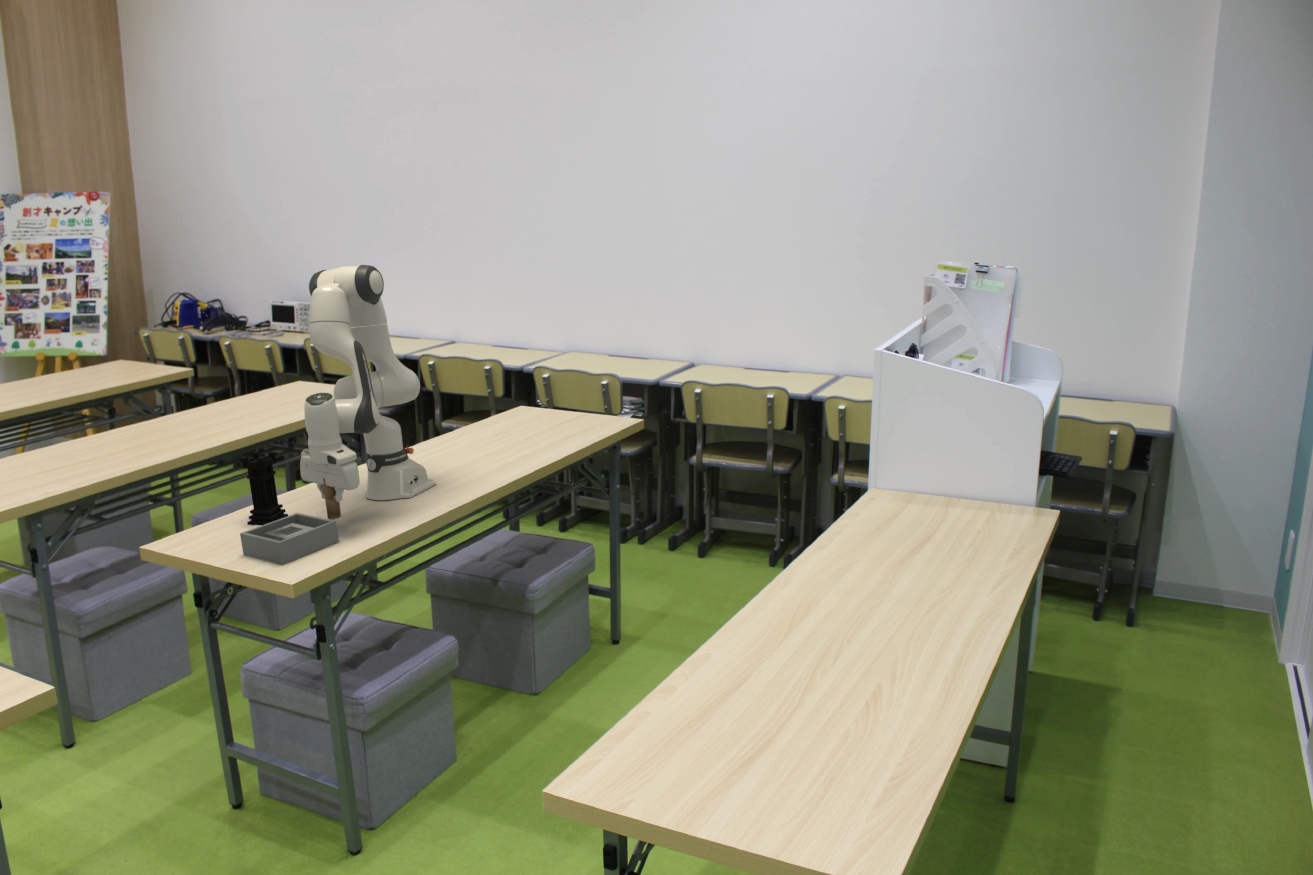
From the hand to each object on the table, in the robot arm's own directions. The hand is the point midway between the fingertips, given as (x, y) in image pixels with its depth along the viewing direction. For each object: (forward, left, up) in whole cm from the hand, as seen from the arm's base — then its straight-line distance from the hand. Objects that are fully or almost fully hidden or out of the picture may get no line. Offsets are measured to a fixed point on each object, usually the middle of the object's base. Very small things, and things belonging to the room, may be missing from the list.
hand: (332, 499), depth 262 cm
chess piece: (+4, -25, -9) cm, 27 cm away
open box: (+16, +1, -9) cm, 18 cm away
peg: (0, 0, -5) cm, 5 cm away
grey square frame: (+16, +1, -8) cm, 18 cm away
